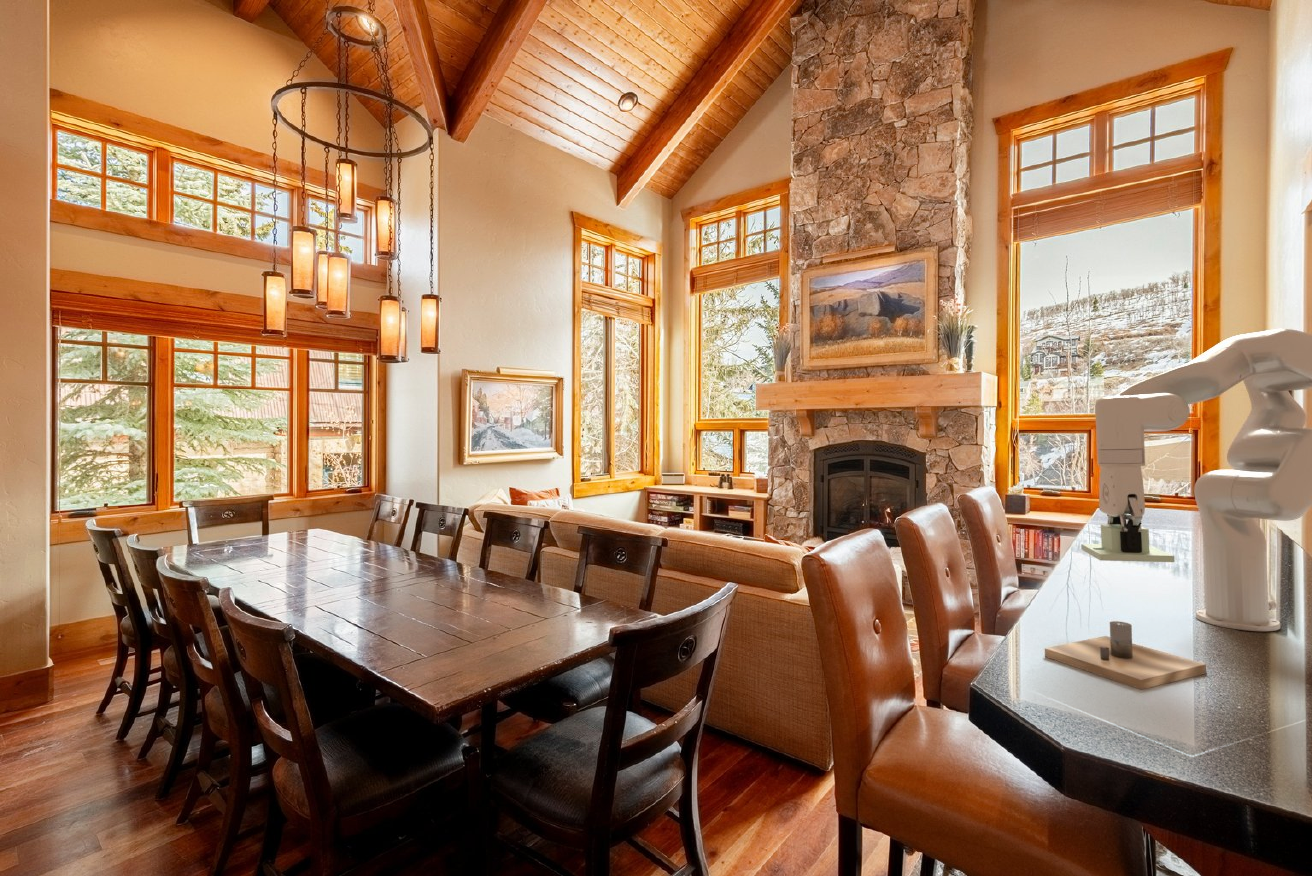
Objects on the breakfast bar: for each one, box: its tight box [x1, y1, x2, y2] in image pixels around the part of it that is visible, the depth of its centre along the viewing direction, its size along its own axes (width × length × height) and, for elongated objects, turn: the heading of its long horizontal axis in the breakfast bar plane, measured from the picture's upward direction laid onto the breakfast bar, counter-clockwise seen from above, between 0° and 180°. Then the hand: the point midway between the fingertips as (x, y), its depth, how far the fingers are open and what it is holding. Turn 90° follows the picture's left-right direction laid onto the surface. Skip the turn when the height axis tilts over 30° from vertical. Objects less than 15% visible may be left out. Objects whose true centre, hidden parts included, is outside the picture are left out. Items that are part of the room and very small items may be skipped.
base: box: [1044, 635, 1207, 690], centre depth 105 cm, size 16×16×2 cm
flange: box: [1080, 523, 1175, 563], centre depth 120 cm, size 12×12×6 cm
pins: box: [1100, 620, 1133, 661], centre depth 104 cm, size 6×3×6 cm, turn 110°
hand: (1124, 548), depth 120 cm, fingers closed on flange, 6 cm apart
